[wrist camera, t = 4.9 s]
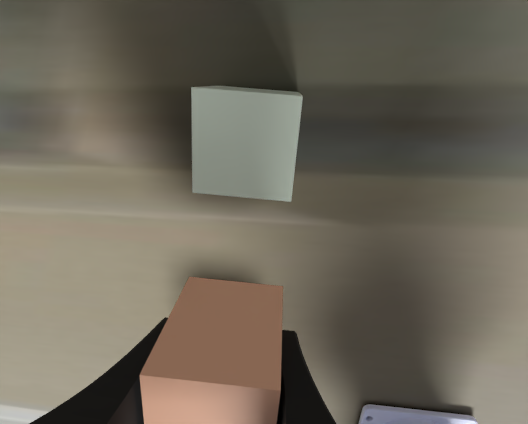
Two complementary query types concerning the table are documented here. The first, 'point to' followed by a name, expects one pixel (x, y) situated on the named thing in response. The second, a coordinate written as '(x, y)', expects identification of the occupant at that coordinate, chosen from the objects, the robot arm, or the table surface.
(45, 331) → the table surface
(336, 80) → the table surface
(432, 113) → the table surface
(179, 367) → the terracotta block
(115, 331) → the table surface
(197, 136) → the sage block
